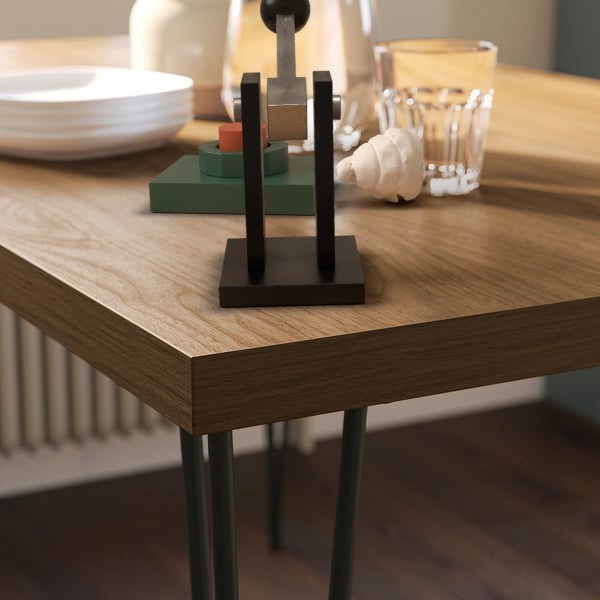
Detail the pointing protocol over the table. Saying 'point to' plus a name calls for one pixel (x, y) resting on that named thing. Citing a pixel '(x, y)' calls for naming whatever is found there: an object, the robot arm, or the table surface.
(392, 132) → the spiral seashell
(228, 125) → the button
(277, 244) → the bracket
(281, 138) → the lever
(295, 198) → the button block
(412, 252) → the table surface
